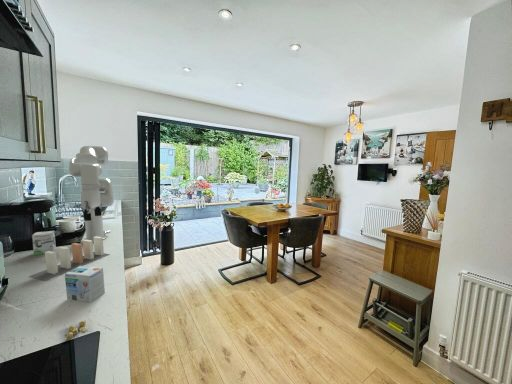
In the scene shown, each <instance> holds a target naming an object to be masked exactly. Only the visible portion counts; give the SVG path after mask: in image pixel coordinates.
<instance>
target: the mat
mask: <svg viewBox="0 0 512 384" xmlns="http://www.w3.org/2000/svg"><path fill="white" fill-rule="evenodd" d="M93 252H94V251H93ZM110 255H111V254H110V253H106V252H104V255H96V254H95V252H94V259H86V258H84V255H83V263H81V264H78V263H73V259H71V268H68V269H66V268H62V267H61V265H60V264H57V266H58V273H56V274H51V273H48V272H47V269H44V270H42V271H40V272H36V273H34V274H30V275H29V276H27V277H28V278H31V279H34V280H39V281H43V282H48V281H50V280H51V279H54V278H57V277H59V276H61V275H65V273H67V272H69V271H71V270H73V269H75V268H77V267H79V266H87V265H88V264H91V263H93V262H96V261H98V260H101V259H104V258H105V257H108V256H110Z"/></svg>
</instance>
